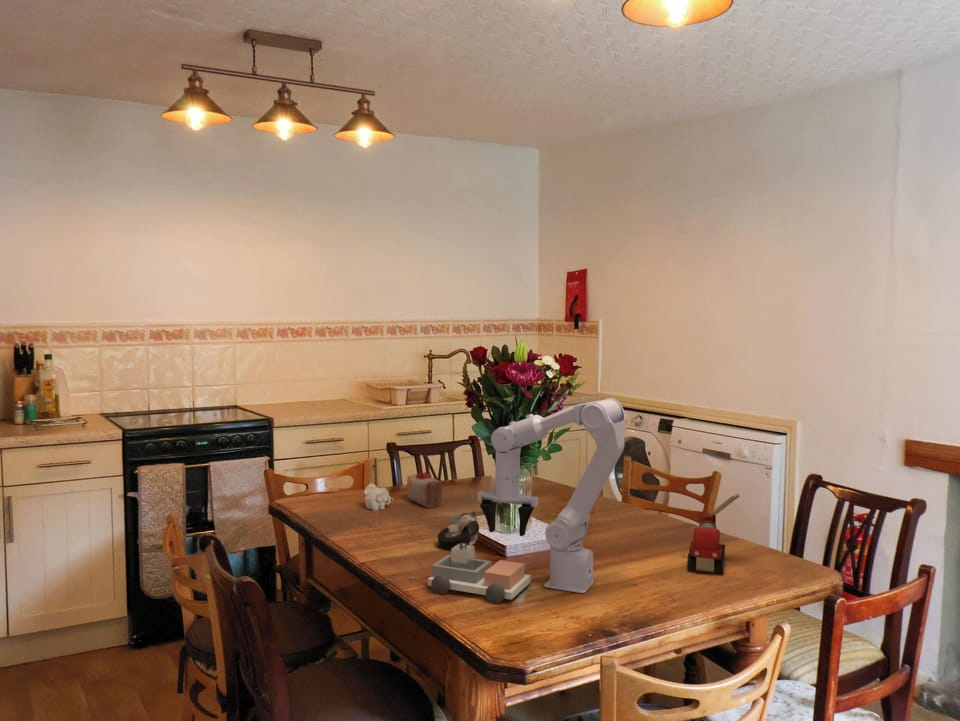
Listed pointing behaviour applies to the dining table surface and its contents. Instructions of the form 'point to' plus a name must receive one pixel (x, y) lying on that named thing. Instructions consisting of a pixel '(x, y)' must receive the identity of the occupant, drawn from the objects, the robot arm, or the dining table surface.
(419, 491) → the food item
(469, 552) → the block
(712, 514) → the toy fire truck
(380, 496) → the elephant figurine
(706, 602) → the dining table surface
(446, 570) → the chassis
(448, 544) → the caster wheel
